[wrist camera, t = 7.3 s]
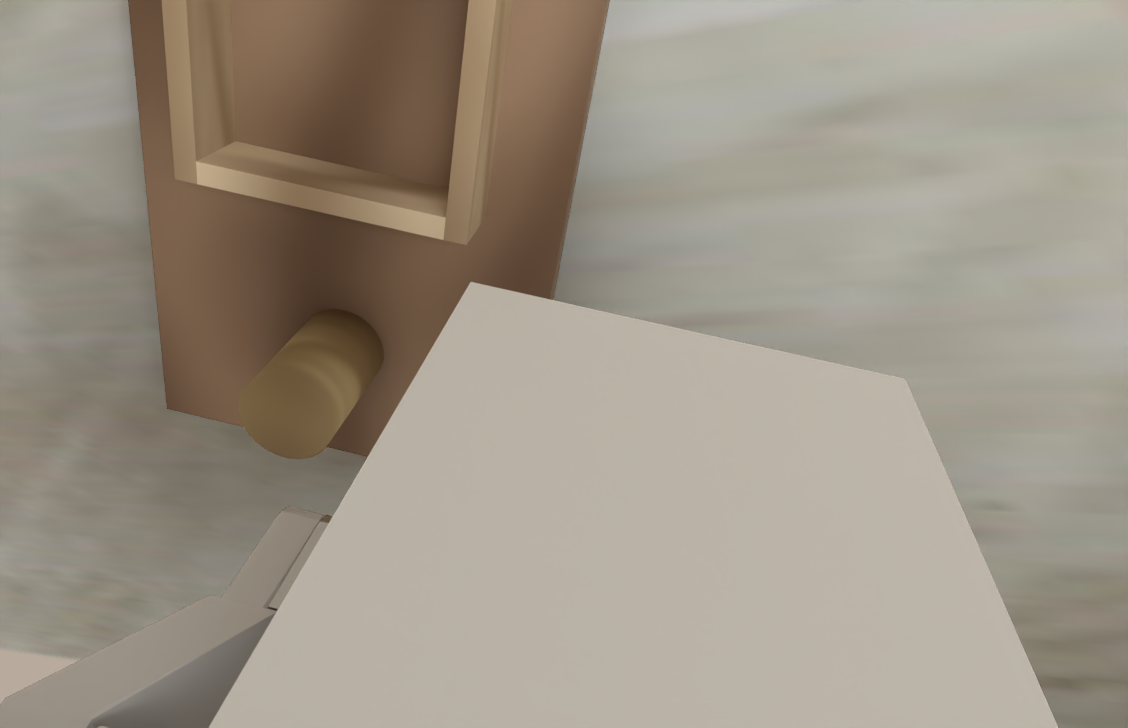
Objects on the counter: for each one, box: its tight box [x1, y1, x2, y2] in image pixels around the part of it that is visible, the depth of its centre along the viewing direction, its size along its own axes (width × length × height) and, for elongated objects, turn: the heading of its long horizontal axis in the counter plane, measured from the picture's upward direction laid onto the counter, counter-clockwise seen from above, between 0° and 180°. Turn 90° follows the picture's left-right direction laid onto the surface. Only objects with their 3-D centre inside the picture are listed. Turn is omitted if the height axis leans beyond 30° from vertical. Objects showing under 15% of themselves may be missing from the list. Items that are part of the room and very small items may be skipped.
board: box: [128, 0, 610, 459], centre depth 21 cm, size 12×17×5 cm
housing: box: [209, 282, 1058, 728], centre depth 9 cm, size 6×6×7 cm
